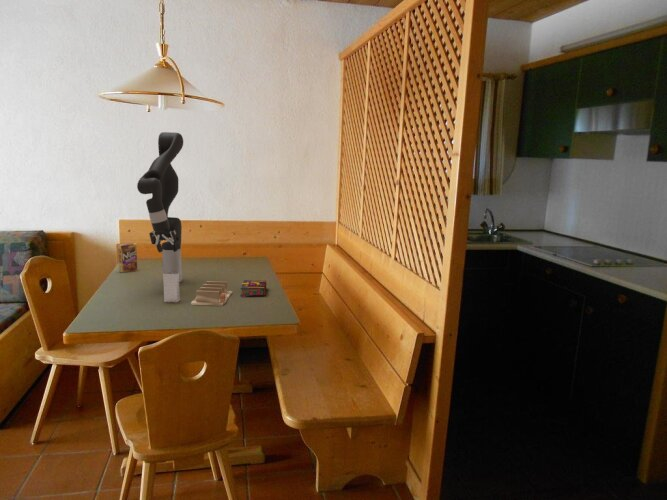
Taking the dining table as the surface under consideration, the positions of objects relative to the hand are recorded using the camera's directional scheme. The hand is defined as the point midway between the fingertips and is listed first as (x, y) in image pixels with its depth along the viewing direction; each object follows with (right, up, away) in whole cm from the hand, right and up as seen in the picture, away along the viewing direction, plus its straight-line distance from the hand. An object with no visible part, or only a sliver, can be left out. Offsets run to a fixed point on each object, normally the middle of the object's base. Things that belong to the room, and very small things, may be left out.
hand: (168, 251), depth 250 cm
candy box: (-34, -11, +37) cm, 51 cm away
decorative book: (+41, -20, +1) cm, 46 cm away
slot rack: (+24, -22, -11) cm, 34 cm away
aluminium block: (+7, -22, -16) cm, 28 cm away
